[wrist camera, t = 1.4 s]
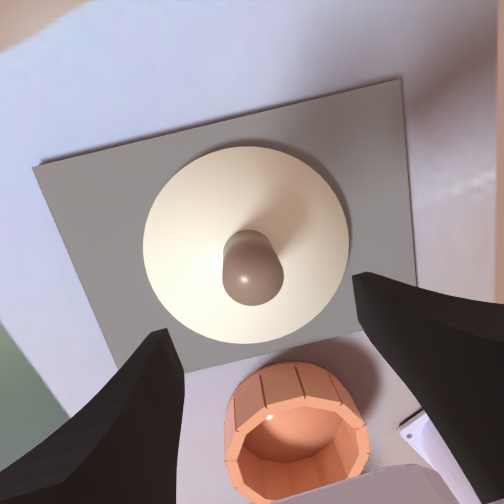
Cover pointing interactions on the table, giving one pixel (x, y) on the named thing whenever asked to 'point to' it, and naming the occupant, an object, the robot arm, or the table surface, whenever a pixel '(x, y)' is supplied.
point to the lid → (245, 245)
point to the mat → (211, 140)
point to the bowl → (292, 432)
